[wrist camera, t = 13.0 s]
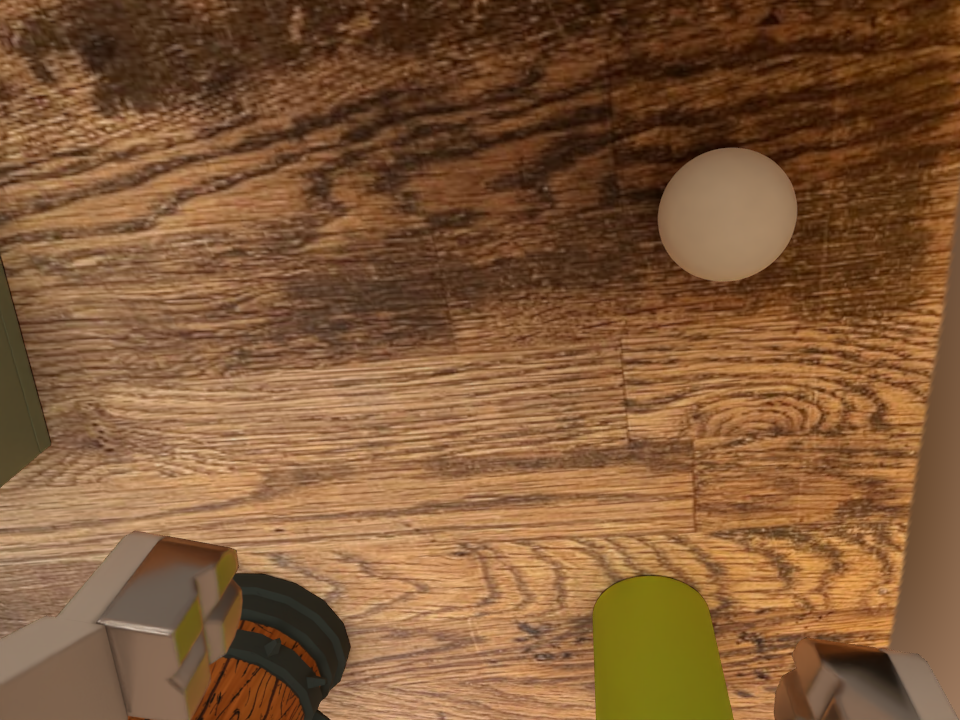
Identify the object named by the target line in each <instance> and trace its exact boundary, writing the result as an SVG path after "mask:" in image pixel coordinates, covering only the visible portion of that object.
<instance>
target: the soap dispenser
mask: <svg viewBox="0 0 960 720" xmlns="http://www.w3.org/2000/svg"><path fill="white" fill-rule="evenodd" d="M593 642H594V672H595V702H596V720H734V719H733V714H732V710H731V705H730V701H729V696H728V692H727V687H726V683H725V678H724V674H723V669H722V665H721V661H720V656H719V652H718V647H717V643H716V638H715V634H714V629H713V625H712V620H711V616H710V612H709V608H708V606H707V604H706V602H705V600H704V599H703V597H702V596H701V595H700V594H699V593H698V592H697V591H696V590H694V589H693V588H692V587H690V586H688V585H687V584H685V583H682V582H680V581H677V580H674V579H671V578H667V577H660V576H640V577H634V578H630V579H626V580H623V581H621V582H618V583H616V584H614V585H613V586H611V587H610V588H608V589H607V590H606V591H605V592H603V593H602V595H601V596H600V597H599V598H598V600H597V602H596V604H595V606H594V609H593Z"/></svg>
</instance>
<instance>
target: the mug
mask: <svg viewBox="0 0 960 720" xmlns="http://www.w3.org/2000/svg"><path fill="white" fill-rule="evenodd" d="M232 579H233V580H234V581H235V582H236V583H237V585H238V586H239V587H240V588H241V590H242V601H243V602H242V612H241V618H240V621H239V625H238V628H237V631H236V635H235V637H234V639H233V641H232V643H231V645H230V647H229V649H228V651H227V653H226V655H224V656H223V657H221V658H220V659H218V660H217V661H215V662H214V663H212V664H211V665H209V667H210V674H211V683H210V685H209V687H208V689H207V691H206V693H205V695H204V696H203V698H202V700H201V702H200V704H199V706H198V708H197V710H196V711H195V713H194V715H193V717H192V719H191V720H330V719H329V718H328V717H326V716H325V715H324V714H323V713H321V712H320V711H319V710H318V707H319V704H320V702H321V701H322V700H323V699H324V698H325V697H326V696H327V695H328V693H329V691H330V690H331V689H332V688H333V687H334V686H335V685H336V684H338V683H339V682H340V680H341V677H342V674H343V672H344V669H345V665H346V662H347V658H348V654H349V651H350V644H349V640H348V637H347V634H346V631H345V627H344V624H343V623H342V622H341V620H340V619H339V618H338V617H337V616H336V615H335V613H334V612H333V611H332V610H331V609H330V608H329V606H328V605H327V604H326V603H325V602H324V601H323V600H321V599H319V598H318V597H316V596H315V595H313V594H311V593H310V592H308V591H307V590H305V589H303V588H302V587H300V586H298V585H297V584H295V583H291V582H288V581H284V580H281V579H278V578H274V577H271V576H267V575H264V574H235V575H234V577H233V578H232ZM128 720H153V719H146V718H139V717H132V716H128Z"/></svg>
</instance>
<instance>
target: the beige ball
mask: <svg viewBox="0 0 960 720" xmlns="http://www.w3.org/2000/svg"><path fill="white" fill-rule="evenodd" d="M796 220H797V201H796V196H795V192H794V189H793V186H792V184H791V182H790V180H789V178H788V176H787V175H786V174H785V172H784V171H783V170H782V169H781V168H780V167H779V166H778V165H777V164H776V163H775V162H774V161H773V160H771V159H770V158H768V157H766V156H764V155H762V154H760V153H758V152H755V151H752V150H749V149H744V148H721V149H716V150H712V151H709V152H706V153H703V154H701V155H699V156H697V157H695V158H694V159H692V160H691V161H689V162H688V163H686V164H685V165H684V166H683V167H681V168H680V169H679V170H678V172H677V173H676V174H675V175H674V176H673V177H672V179H671V180H670V181H669V183H668V185H667V187H666V188H665V190H664V193H663V195H662V198H661V201H660V205H659V210H658V228H659V234H660V237H661V241H662V243H663V245H664V248H665V249H666V251H667V252H668V254H669V256H670V257H671V258H672V259H673V260H674V262H675V263H676V264H677V265H679V266H680V267H681V268H682V269H684V270H685V271H687V272H688V273H690V274H692V275H694V276H696V277H699V278H702V279H706V280H711V281H720V282H726V281H735V280H740V279H743V278H747V277H749V276H752V275H754V274H756V273H758V272H760V271H762V270H763V269H765V268H766V267H767V266H769V265H770V264H771V263H772V262H774V261H775V260H776V259H777V258H778V257H779V255H780V254H781V253H782V252H783V251H784V249H785V248H786V246H787V245H788V243H789V241H790V239H791V237H792V234H793V232H794V228H795V224H796Z"/></svg>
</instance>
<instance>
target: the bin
mask: <svg viewBox="0 0 960 720" xmlns="http://www.w3.org/2000/svg"><path fill="white" fill-rule="evenodd" d="M50 445H51V442H50V439H49V435H48V431H47V428H46V424H45V420H44V417H43V413H42V409H41V406H40V402H39V398H38V395H37V391H36V387H35V383H34V380H33V376H32V372H31V369H30V365H29V361H28V358H27V354H26V350H25V347H24V343H23V339H22V336H21V332H20V328H19V325H18V321H17V317H16V314H15V310H14V306H13V302H12V299H11V295H10V291H9V288H8V284H7V280H6V277H5V273H4V269H3V266H2V262H1V258H0V488H1V487H2V486H3V485H4V484H5V483H7V482H8V481H9V480H10V479H11V478H12V477H14V476H15V475H16V474H17V473H18V472H19V471H21V470H22V469H23V468H24V467H25V466H27V465H28V464H29V463H30V462H31V461H32V460H34V459H35V458H36V457H37V456H38V455H39V454H40V453H42V452H43V451H44V450H45V449H47V448H48V447H49V446H50Z"/></svg>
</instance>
